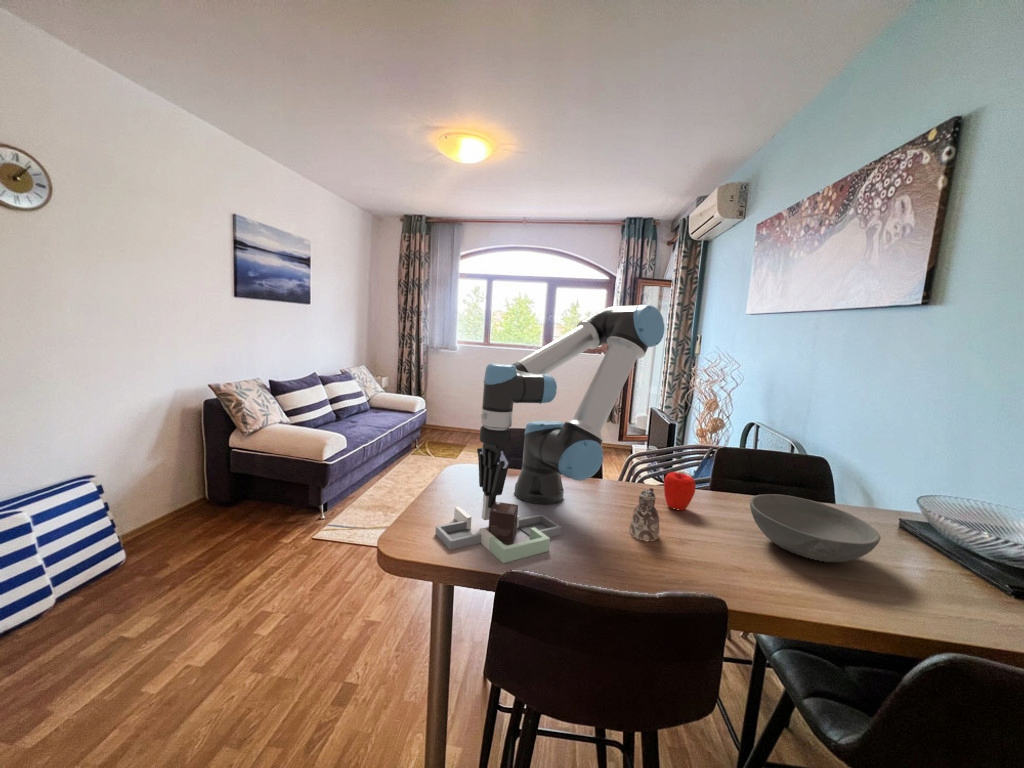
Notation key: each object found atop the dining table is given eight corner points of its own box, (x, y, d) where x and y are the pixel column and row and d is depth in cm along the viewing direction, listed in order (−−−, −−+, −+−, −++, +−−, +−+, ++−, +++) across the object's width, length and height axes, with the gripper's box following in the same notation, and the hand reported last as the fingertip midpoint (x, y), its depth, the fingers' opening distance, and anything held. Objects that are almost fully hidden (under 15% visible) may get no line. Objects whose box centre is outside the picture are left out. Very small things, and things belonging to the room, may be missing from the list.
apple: (694, 507, 129) (698, 473, 128) (689, 516, 122) (694, 480, 121) (664, 500, 134) (668, 467, 133) (658, 508, 126) (662, 473, 125)
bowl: (844, 541, 113) (850, 505, 112) (897, 594, 89) (905, 549, 87) (737, 520, 122) (741, 487, 121) (757, 564, 97) (763, 522, 96)
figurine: (624, 533, 107) (629, 488, 106) (637, 526, 112) (642, 483, 111) (650, 544, 102) (656, 497, 101) (662, 536, 108) (668, 491, 106)
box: (512, 544, 97) (514, 514, 96) (487, 540, 98) (489, 510, 97) (516, 533, 103) (518, 504, 102) (492, 529, 104) (494, 500, 103)
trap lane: (518, 506, 119) (519, 496, 119) (574, 543, 100) (575, 531, 99) (425, 523, 104) (426, 512, 104) (470, 572, 84) (471, 558, 84)
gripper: (470, 421, 106) (463, 510, 109) (495, 433, 95) (487, 532, 98) (495, 420, 110) (488, 506, 113) (523, 432, 99) (514, 526, 102)
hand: (487, 518), depth 105 cm, fingers closed
